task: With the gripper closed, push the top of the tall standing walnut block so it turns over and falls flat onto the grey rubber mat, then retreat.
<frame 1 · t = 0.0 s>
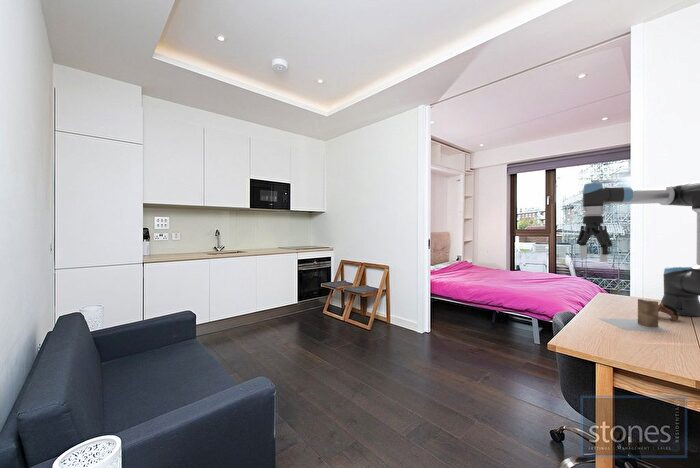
hand: (592, 260, 141), 28 cm above the table, fingers open, 13 cm apart
mat: (633, 325, 131), on the table
walnut block: (647, 325, 129), point 1 cm above the table, touching mat
brown curved arch: (660, 319, 139), on the table
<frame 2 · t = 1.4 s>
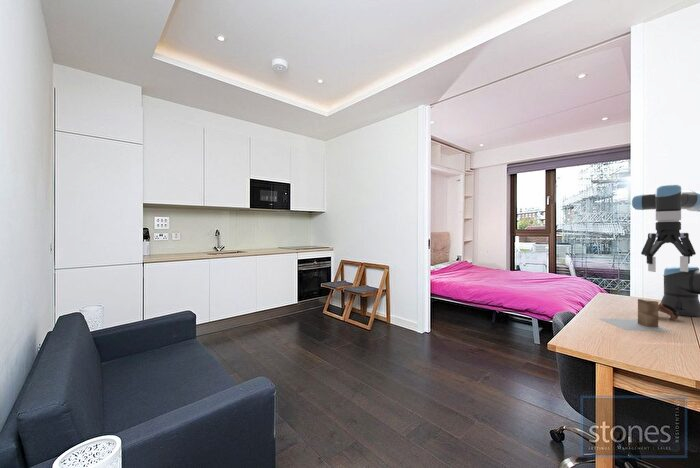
hand: (667, 271, 128), 24 cm above the table, fingers open, 12 cm apart
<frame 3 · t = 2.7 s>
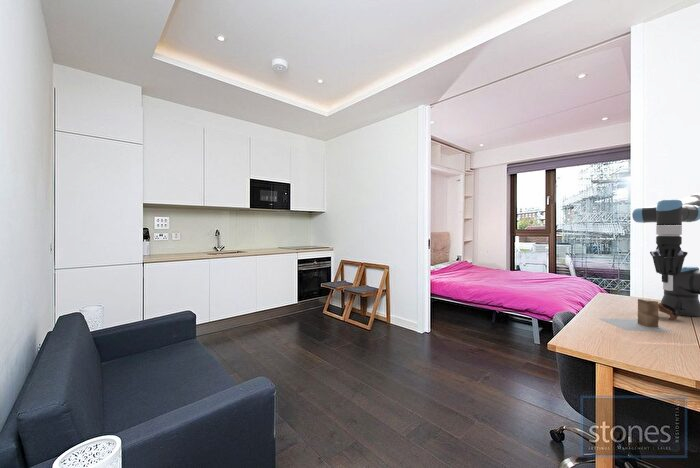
hand: (667, 290, 128), 16 cm above the table, fingers closed
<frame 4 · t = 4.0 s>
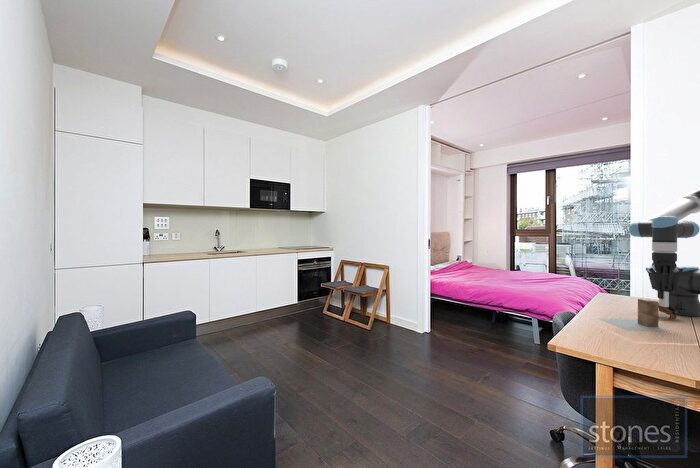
hand: (663, 306, 128), 9 cm above the table, fingers closed
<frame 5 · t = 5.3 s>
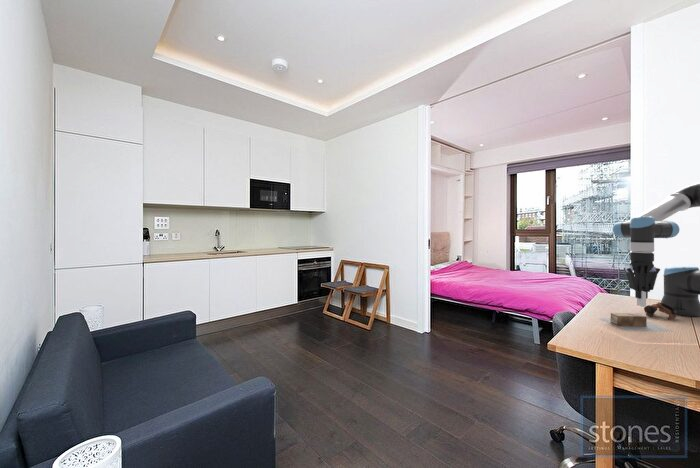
hand: (641, 305, 129), 9 cm above the table, fingers closed
walnut block: (642, 320, 129), point 3 cm above the table, tilted 90°, touching mat
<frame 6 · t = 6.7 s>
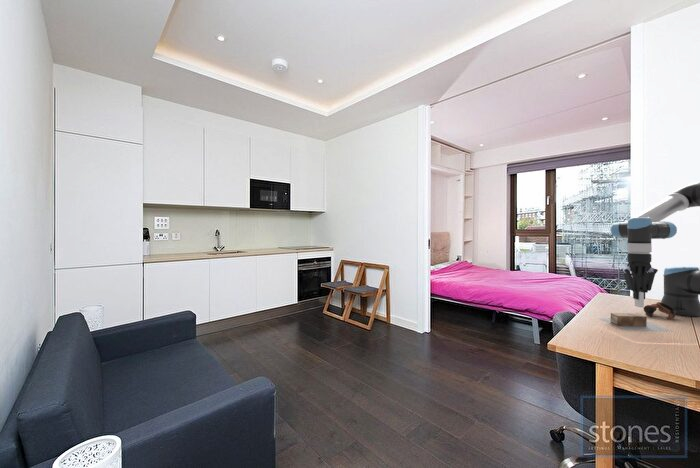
hand: (639, 306, 129), 9 cm above the table, fingers closed
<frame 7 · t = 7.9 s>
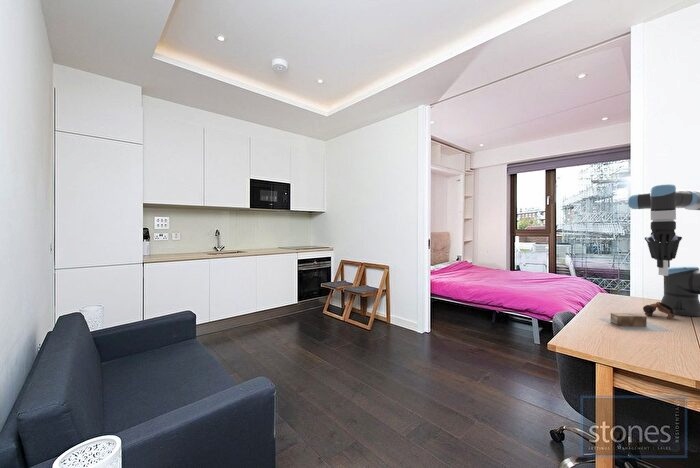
hand: (663, 275, 128), 23 cm above the table, fingers closed
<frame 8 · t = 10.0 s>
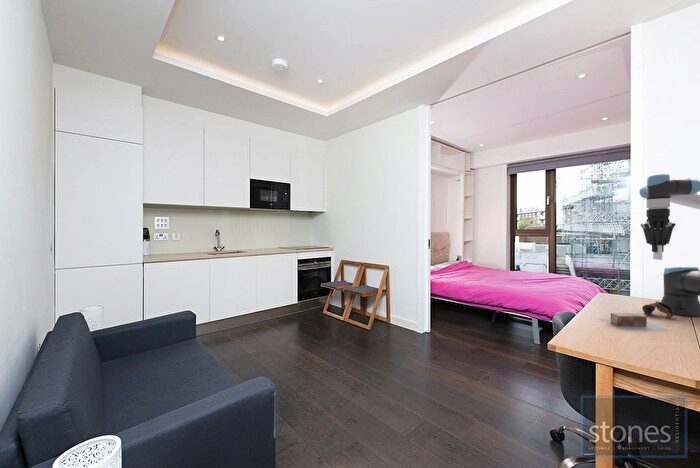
hand: (657, 259, 137), 28 cm above the table, fingers closed
at the end: walnut block tilted 90°; walnut block inside the target area (4.7 cm from its centre), point 2.8 cm above the table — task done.
